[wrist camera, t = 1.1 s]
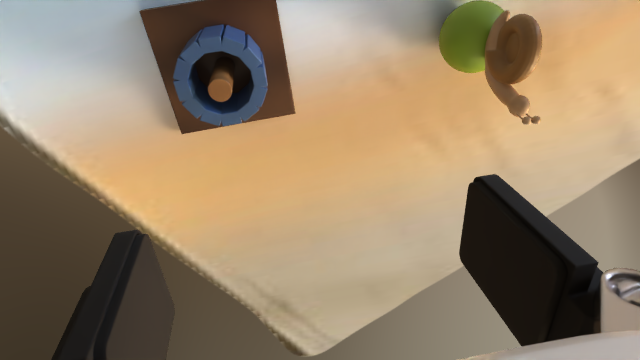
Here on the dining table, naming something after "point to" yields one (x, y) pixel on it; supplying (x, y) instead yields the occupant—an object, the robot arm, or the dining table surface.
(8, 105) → the dining table surface
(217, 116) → the blue ring
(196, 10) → the dowel stand
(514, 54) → the snail figurine
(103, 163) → the dining table surface
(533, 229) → the robot arm
